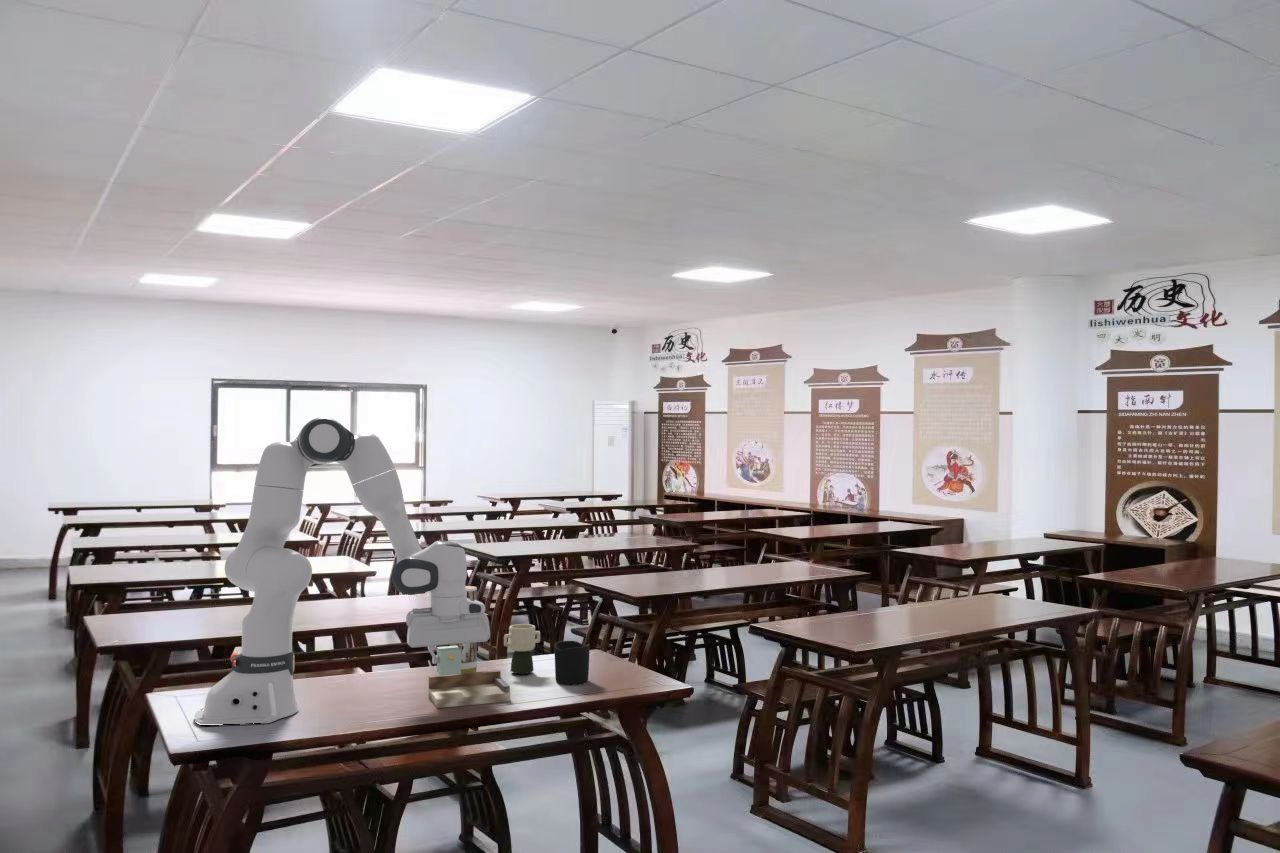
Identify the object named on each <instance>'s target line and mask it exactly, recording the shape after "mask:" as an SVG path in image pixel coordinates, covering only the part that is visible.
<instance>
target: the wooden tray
mask: <svg viewBox="0 0 1280 853" xmlns="http://www.w3.org/2000/svg"><path fill="white" fill-rule="evenodd" d="M501 675H502V674H501V670H500V669H497V670H496V669H495V670H483V671H482V670H481V671H476V672H470V673H461V674H455V675H444V676H440V674H438V675H437V674H436V675H428V698H429V699H430V700H431V702H432V703H433V705H434V706H435V708H436V709H442V708H452V707H462V706H471V705H472V706H473V705H481V704H482V705H483V704H484V705H485V704H491V703H493V704H494V703H503V702H511V687H510V686H511V685H510V684H508V683H507V682H506V680H504V679H503V678H502V677H501Z"/></svg>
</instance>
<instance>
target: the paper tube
mask: <svg viewBox="0 0 1280 853" xmlns="http://www.w3.org/2000/svg"><path fill="white" fill-rule="evenodd" d="M465 588H466V591H467V598H468V599H473V600H477V601H478V586H473V585H465ZM450 646H458V647H459V648H460V649H461V653H462V651H463V649H464V646H463V643H461V644H450ZM477 646H478V642H473V643H470V648H469V649H468V651H467V653H466V654H465V661H461V673H470V672H477V667H478V665H477V664H478V662H477V659H478V658H477V655H478V654H477V652H478V651H477V650H478V649H477Z"/></svg>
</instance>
